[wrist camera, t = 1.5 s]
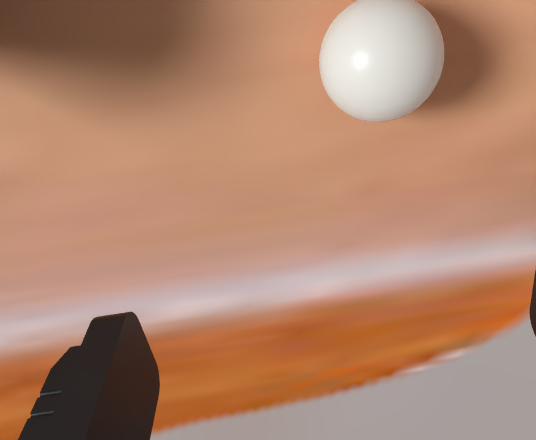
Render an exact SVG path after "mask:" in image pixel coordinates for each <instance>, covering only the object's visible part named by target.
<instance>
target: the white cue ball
mask: <svg viewBox="0 0 536 440" xmlns="http://www.w3.org/2000/svg"><path fill="white" fill-rule="evenodd" d="M443 64H444V42H443V36H442V34H441V31H440V28H439V26H438V24H437V22H436V20H435V19H434V17H433V16H432V15H431V13H430V12H429V11H428V10H427V9H426V8H425V7H423V6H422V5H421V4H419V3H418V2H416V1H415V0H357V1H356V2H354V3H352V4H351V5H349V6H348V7H347V8H345V9H344V10H343V11H342V12H341V13H340V14H339V15H338V16H337V17H336V18H335V19H334V21H333V22H332V23H331V25H330V27H329V28H328V30H327V32H326V34H325V37H324V39H323V42H322V45H321V50H320V56H319V68H320V75H321V80H322V83H323V86H324V88H325V90H326V92H327V94H328V95H329V97H330V98H331V100H332V101H333V102H334V103H335V104H336V105H337V106H338V107H339V108H340V109H341V110H342V111H344V112H345V113H347V114H349V115H350V116H352V117H355V118H357V119H360V120H364V121H370V122H385V121H391V120H395V119H398V118H401V117H403V116H405V115H407V114H409V113H411V112H412V111H414V110H415V109H416V108H418V107H419V106H420V105H421V104H422V103H423V102H424V101H425V100H426V99H427V98H428V97H429V96H430V94H431V93H432V92H433V90H434V88H435V87H436V85H437V83H438V81H439V79H440V76H441V73H442V69H443Z"/></svg>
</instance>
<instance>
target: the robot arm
mask: <svg viewBox="0 0 536 440" xmlns="http://www.w3.org/2000/svg"><path fill="white" fill-rule="evenodd" d="M530 320H531V325H532V328H533V331H534V334H535V336H536V271H535V278H534V284H533V291H532V298H531V305H530ZM159 387H160V382H159V372H158V367H157V364H156V361H155V358H154V356H153V354H152V351H151V349H150V346H149V344H148V341H147V339H146V337H145V334H144V332H143V329H142V327H141V325H140V322H139V320H138V318H137V316H136V315H135V313H133V312H126V313H119V314H113V315H106V316H100V317H95V318H94V319H93V320H92V321H91V323H90V325H89V327H88V330H87V332H86V335H85V337H84V339H83V342H82V344H81V346H74V347H70V348H69V349H68V351H67V352H66V353H65V354H64V355H63V356H62V357H61V358H60V359H59V361H58V362H57V363H56V364H55V365H54V366H53V367H52V368H51V370H50V372H49V374H48V377H47V379H46V381H45V383H44V385H43V387H42V389H41V392H40V398H37V400H36V402H35V404H34V407H33V409H32V411H31V413H30V414H31V418H28V419H27V422H26V424H25V426H24V428H23V430H22V432H21V434H20V437H19V439H18V440H150V436H151V431H152V426H153V421H154V416H155V411H156V406H157V401H158V396H159Z"/></svg>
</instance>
